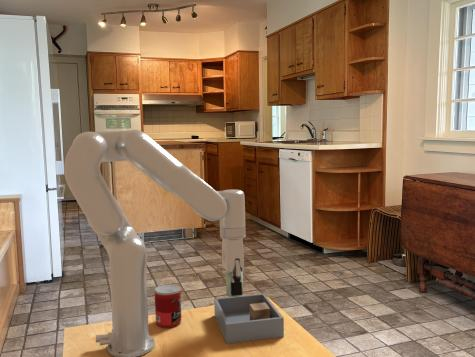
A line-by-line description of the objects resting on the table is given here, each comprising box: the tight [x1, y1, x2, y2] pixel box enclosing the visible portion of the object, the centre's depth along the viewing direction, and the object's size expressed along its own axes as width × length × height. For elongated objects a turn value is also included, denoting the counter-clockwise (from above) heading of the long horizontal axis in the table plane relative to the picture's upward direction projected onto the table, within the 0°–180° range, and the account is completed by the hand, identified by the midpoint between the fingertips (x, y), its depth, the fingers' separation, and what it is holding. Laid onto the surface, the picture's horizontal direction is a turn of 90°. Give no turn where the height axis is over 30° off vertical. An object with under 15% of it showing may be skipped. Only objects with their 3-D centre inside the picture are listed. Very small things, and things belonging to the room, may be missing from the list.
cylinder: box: [225, 269, 244, 297], centre depth 130 cm, size 5×5×7 cm
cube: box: [250, 302, 270, 320], centre depth 132 cm, size 5×5×5 cm
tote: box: [213, 293, 285, 345], centre depth 132 cm, size 17×20×6 cm
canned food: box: [154, 283, 182, 329], centre depth 134 cm, size 8×8×11 cm
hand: (234, 290), depth 130 cm, fingers closed on cylinder, 5 cm apart
